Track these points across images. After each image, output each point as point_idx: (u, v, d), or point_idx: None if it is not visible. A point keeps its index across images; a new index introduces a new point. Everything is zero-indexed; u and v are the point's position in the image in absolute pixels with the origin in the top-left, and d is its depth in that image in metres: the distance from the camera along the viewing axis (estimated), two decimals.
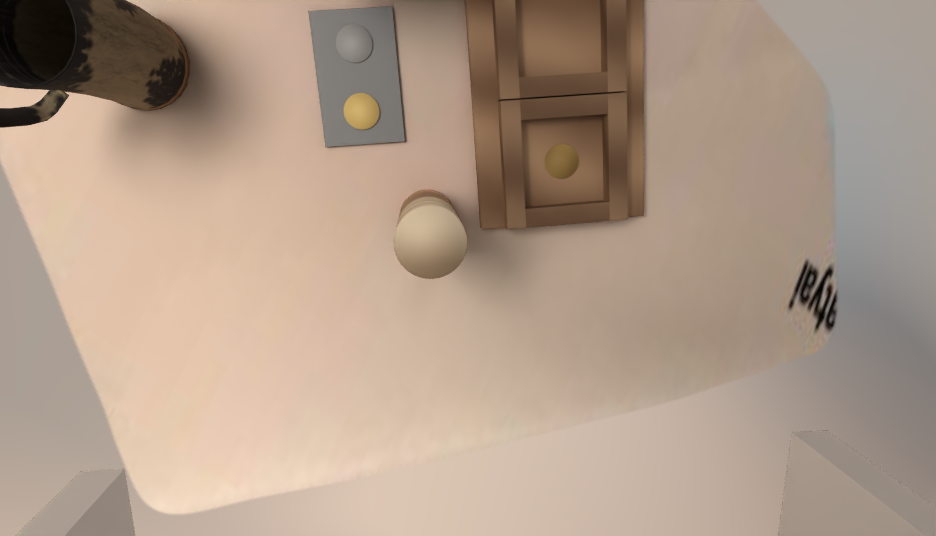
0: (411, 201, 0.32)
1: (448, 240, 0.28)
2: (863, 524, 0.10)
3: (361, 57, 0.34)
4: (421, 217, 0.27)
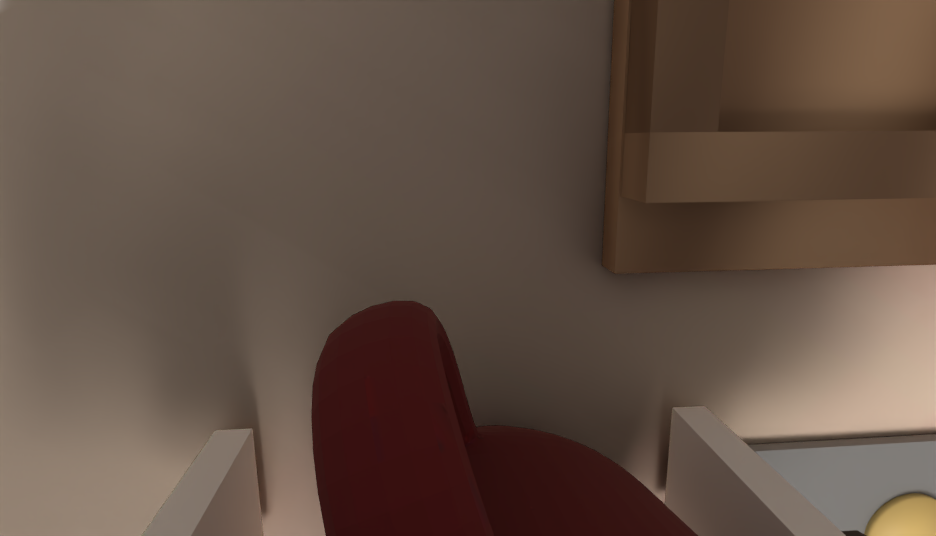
0: None
1: None
2: (716, 486, 0.11)
3: None
4: None
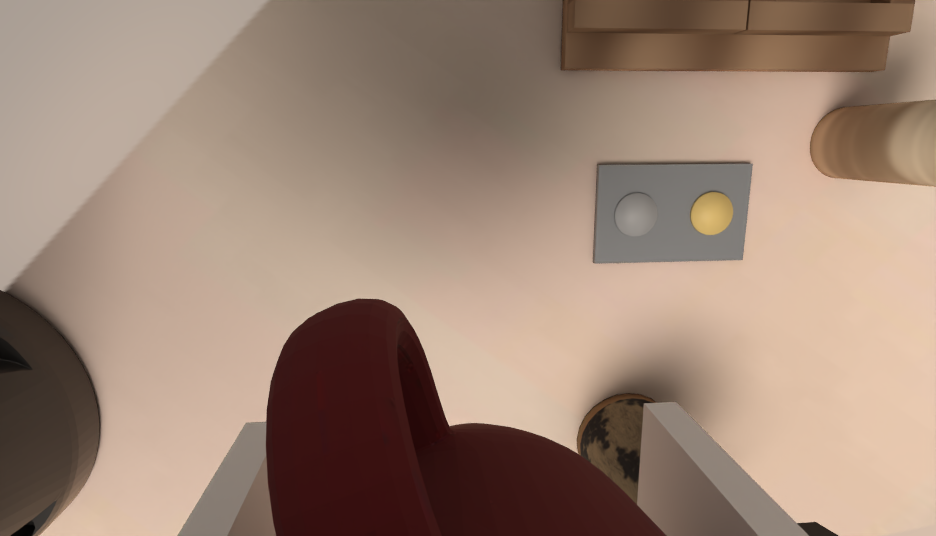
0: (887, 163, 0.24)
1: None
2: (682, 479, 0.11)
3: (651, 207, 0.29)
4: None
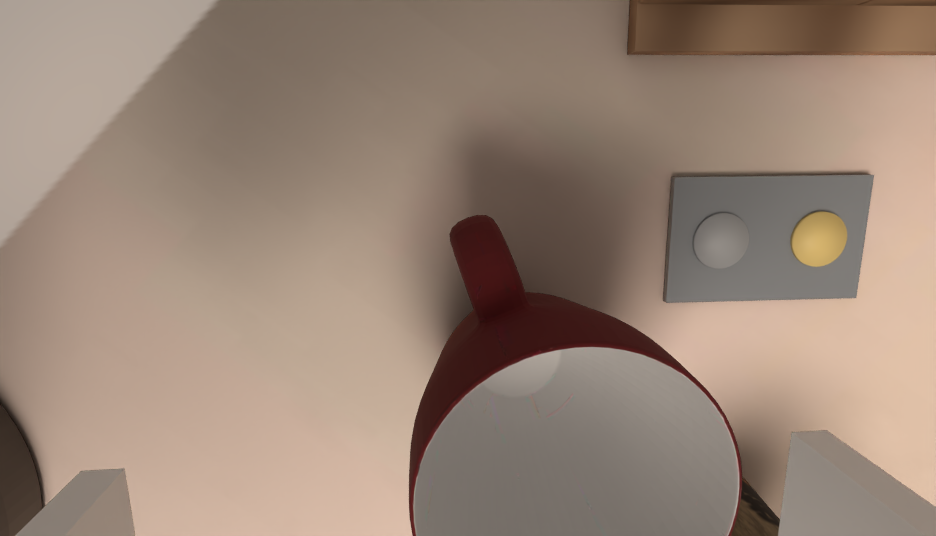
0: None
1: None
2: (863, 524, 0.10)
3: (740, 232, 0.22)
4: None
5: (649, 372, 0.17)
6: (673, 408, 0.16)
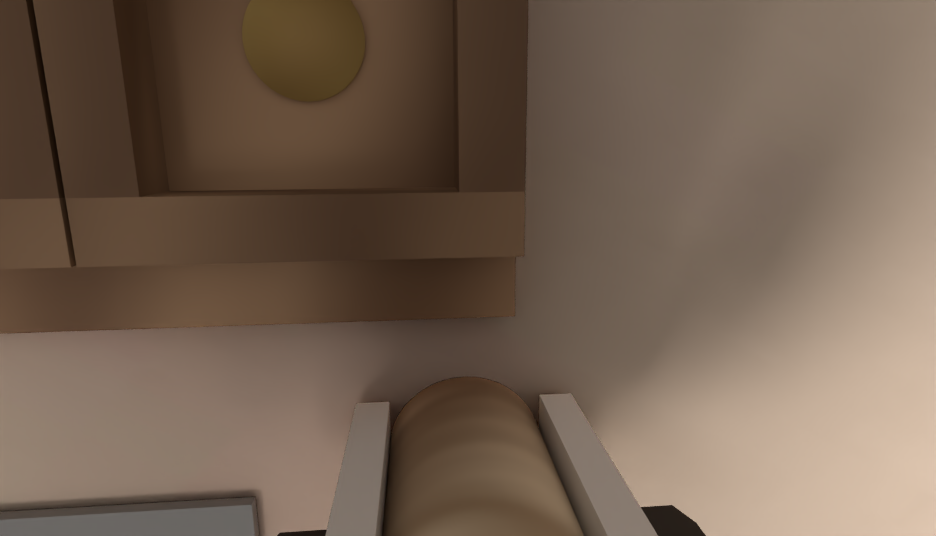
0: None
1: None
2: (559, 466, 0.11)
3: None
4: None
5: None
6: None
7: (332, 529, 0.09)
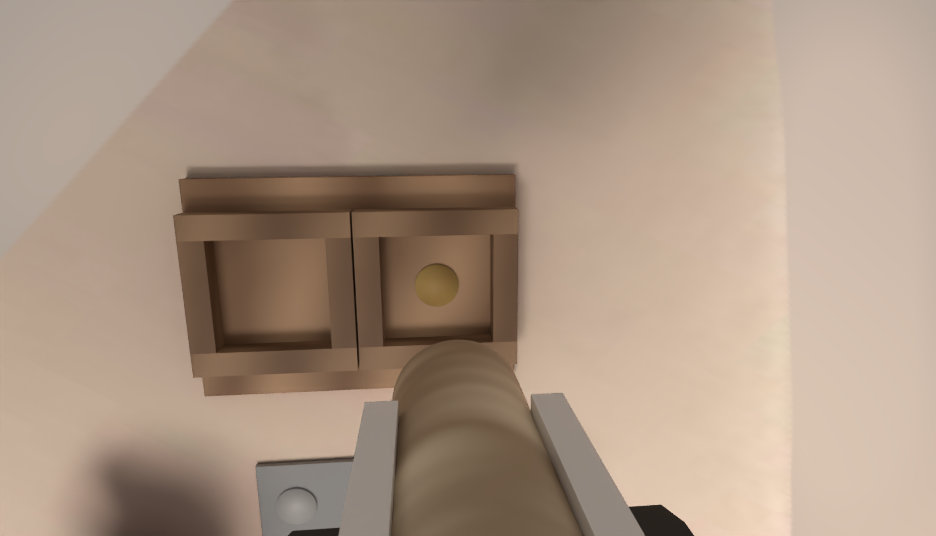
0: None
1: None
2: None
3: (311, 499, 0.31)
4: None
5: None
6: None
7: (345, 527, 0.09)
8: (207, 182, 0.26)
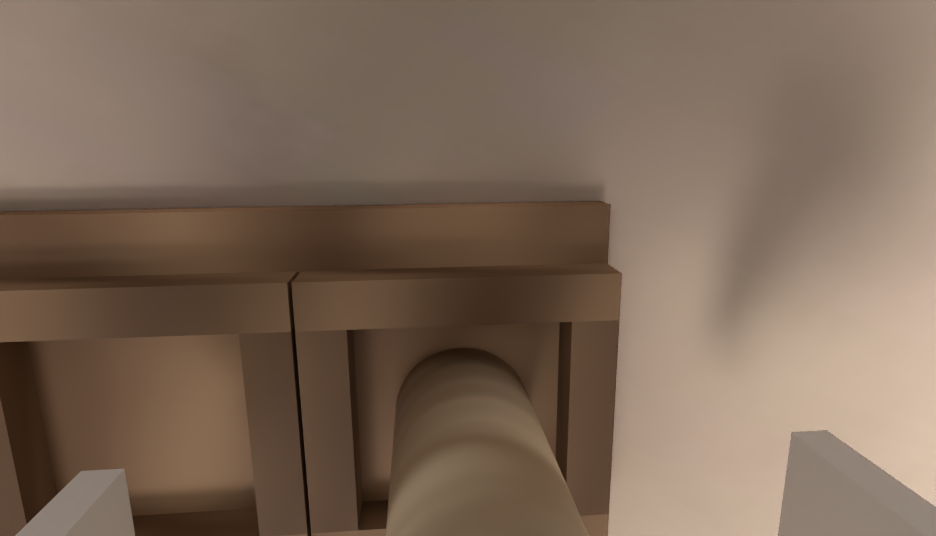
0: None
1: None
2: (862, 524, 0.10)
3: None
4: None
5: None
6: None
7: None
8: (6, 221, 0.13)
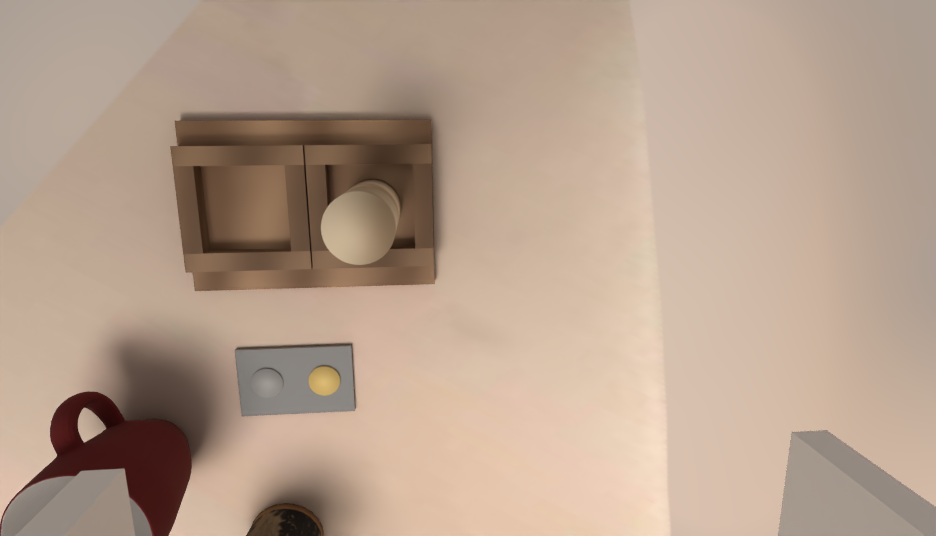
0: None
1: (357, 210, 0.27)
2: (862, 524, 0.10)
3: (278, 377, 0.40)
4: (331, 236, 0.27)
5: None
6: (168, 489, 0.34)
7: None
8: (196, 123, 0.35)
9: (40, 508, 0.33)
